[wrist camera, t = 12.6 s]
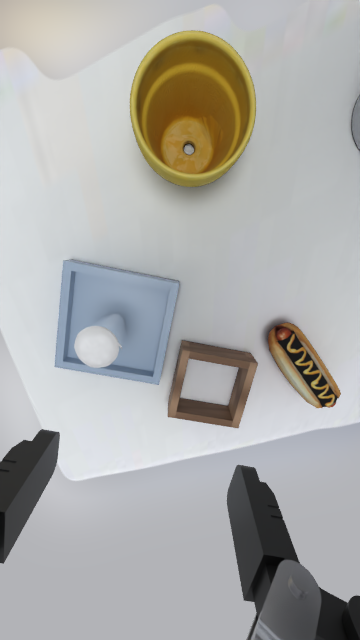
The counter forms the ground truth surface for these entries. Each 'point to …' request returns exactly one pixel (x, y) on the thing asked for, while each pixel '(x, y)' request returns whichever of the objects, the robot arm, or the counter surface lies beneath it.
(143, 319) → the tray
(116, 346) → the milkshake
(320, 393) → the hot dog
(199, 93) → the plant pot
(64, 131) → the counter surface
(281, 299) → the counter surface
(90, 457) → the counter surface
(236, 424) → the holder
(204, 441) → the counter surface
